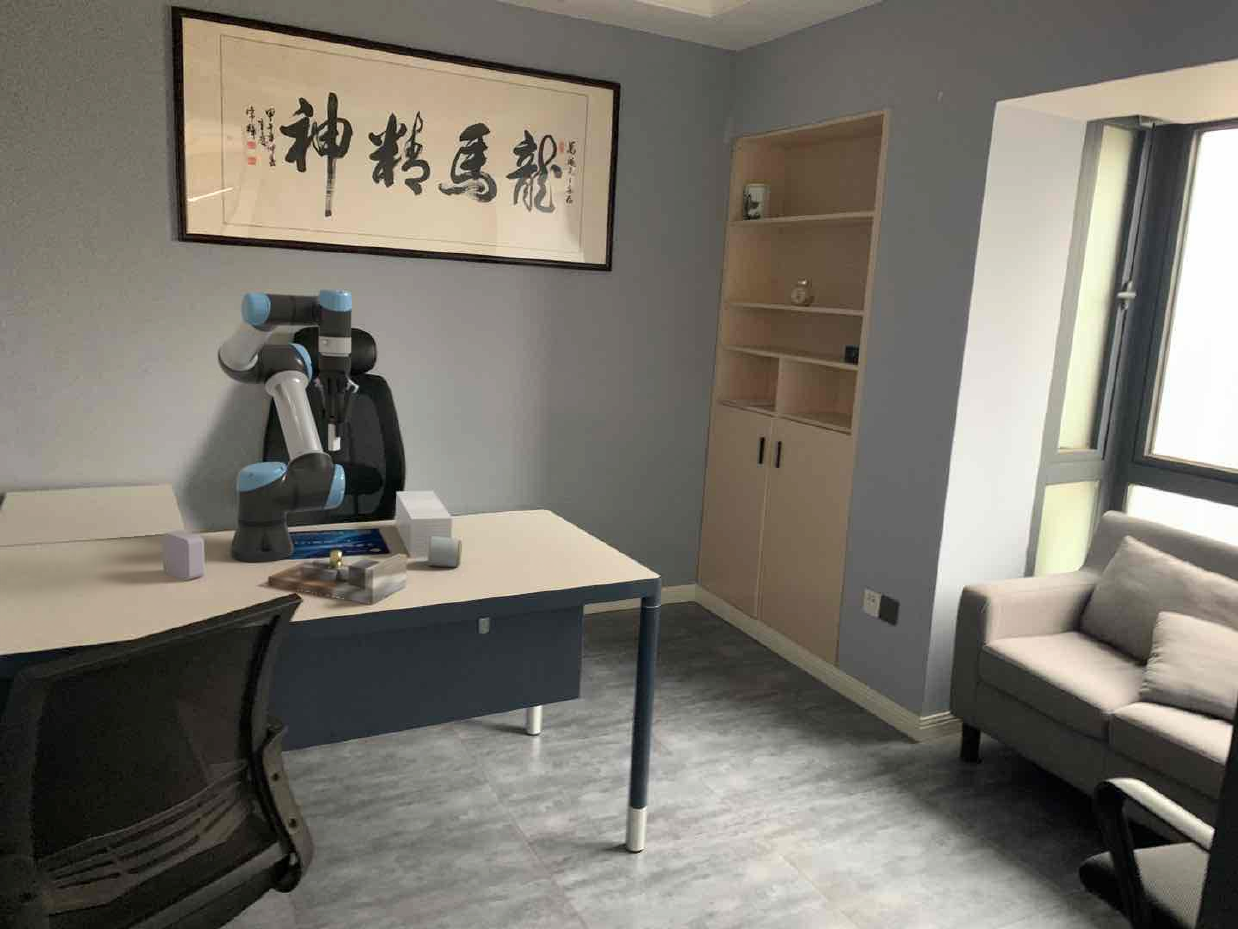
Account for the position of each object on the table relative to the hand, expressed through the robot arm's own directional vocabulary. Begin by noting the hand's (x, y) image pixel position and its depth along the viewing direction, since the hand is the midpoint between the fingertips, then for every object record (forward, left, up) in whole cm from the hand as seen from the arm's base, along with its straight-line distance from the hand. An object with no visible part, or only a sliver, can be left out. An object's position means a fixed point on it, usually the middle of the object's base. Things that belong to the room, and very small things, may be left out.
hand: (334, 449), depth 226 cm
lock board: (+11, -14, -29) cm, 34 cm away
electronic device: (-24, -24, -30) cm, 45 cm away
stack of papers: (+8, +30, -30) cm, 43 cm away
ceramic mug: (+24, +14, -30) cm, 41 cm away
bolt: (+15, -14, -27) cm, 34 cm away
